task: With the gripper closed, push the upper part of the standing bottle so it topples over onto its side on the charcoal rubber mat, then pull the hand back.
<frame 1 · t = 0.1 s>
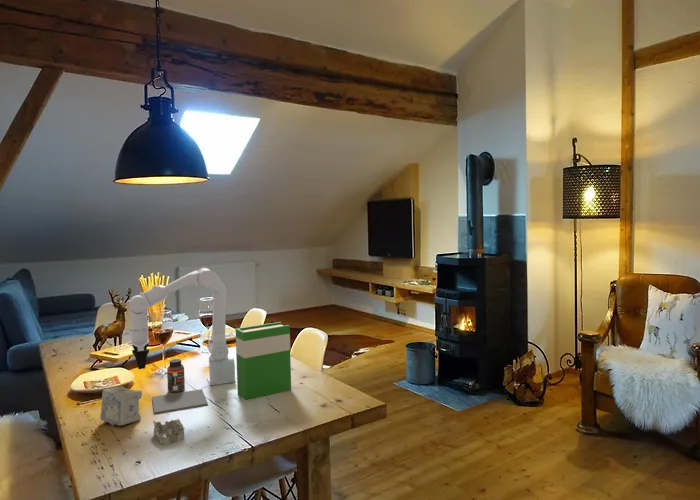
hand: (141, 365, 181), 10 cm above the table, tool pointing down, fingers open, 7 cm apart
supplement bottle: (176, 391, 183), on the table
incense holder: (122, 422, 157), on the table
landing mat: (179, 401, 173), on the table
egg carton: (169, 437, 146), on the table
hardback book: (264, 392, 181), on the table
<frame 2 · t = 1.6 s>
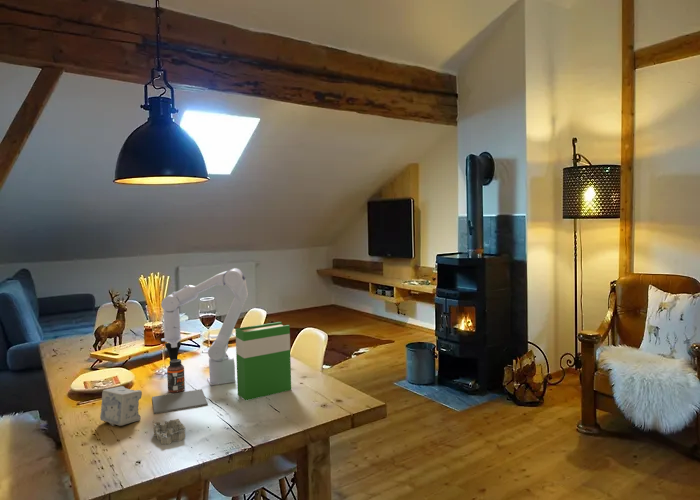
hand: (173, 361, 190), 9 cm above the table, tool pointing down, fingers closed
nothing on the table moved.
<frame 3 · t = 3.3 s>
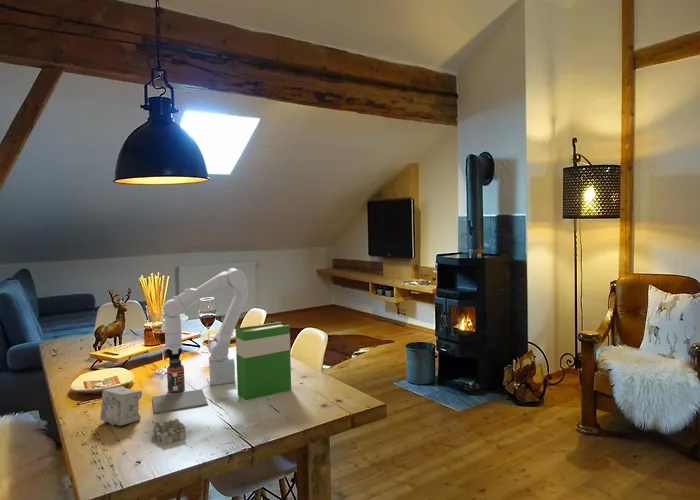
hand: (174, 368, 186), 8 cm above the table, tool pointing down, fingers closed
supplement bottle: (176, 390, 183), on the table, touching gripper
everything else where it was.
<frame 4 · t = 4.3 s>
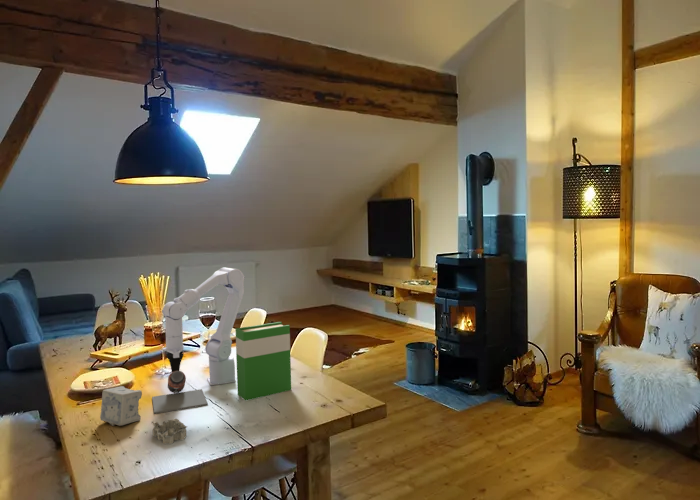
hand: (175, 372, 180), 8 cm above the table, tool pointing down, fingers closed
supplement bottle: (176, 385, 182), point 2 cm above the table, touching gripper
everything else where it was.
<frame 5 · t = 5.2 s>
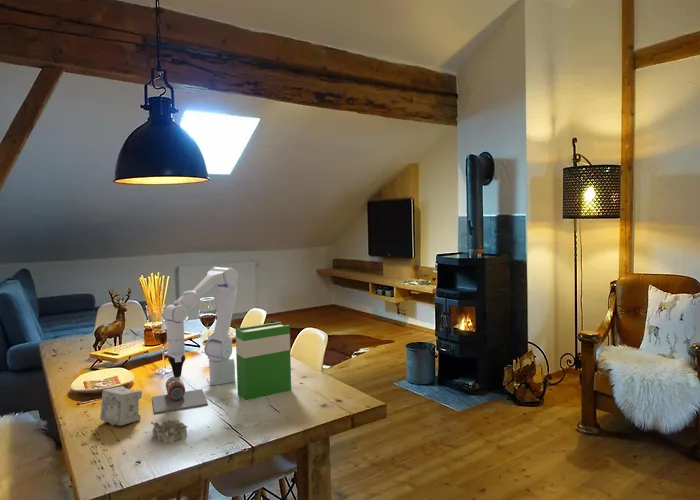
hand: (177, 376, 176), 7 cm above the table, tool pointing down, fingers closed
supplement bottle: (174, 383, 180), point 4 cm above the table, touching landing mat
everything else where it was.
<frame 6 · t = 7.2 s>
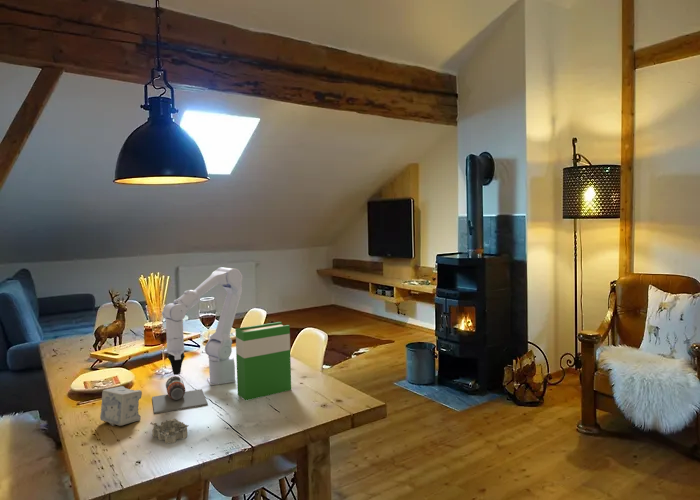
hand: (176, 374, 179), 7 cm above the table, tool pointing down, fingers closed
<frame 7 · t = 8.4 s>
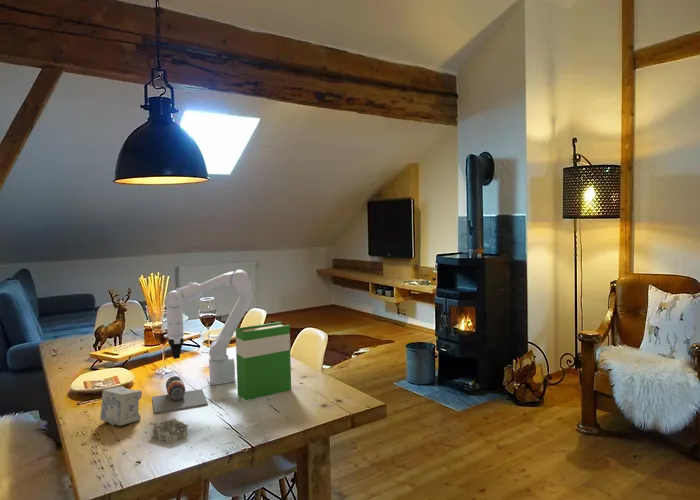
hand: (176, 358, 188), 10 cm above the table, tool pointing down, fingers closed
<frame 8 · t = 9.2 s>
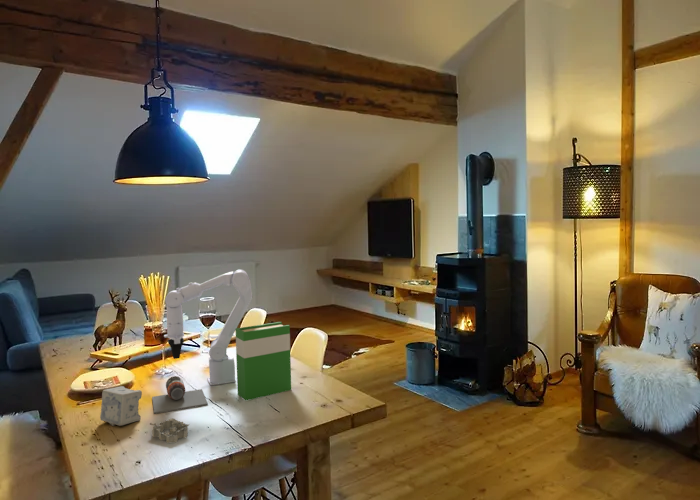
hand: (176, 358, 188), 10 cm above the table, tool pointing down, fingers closed
at the end: supplement bottle tilted 90°; supplement bottle touching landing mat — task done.
